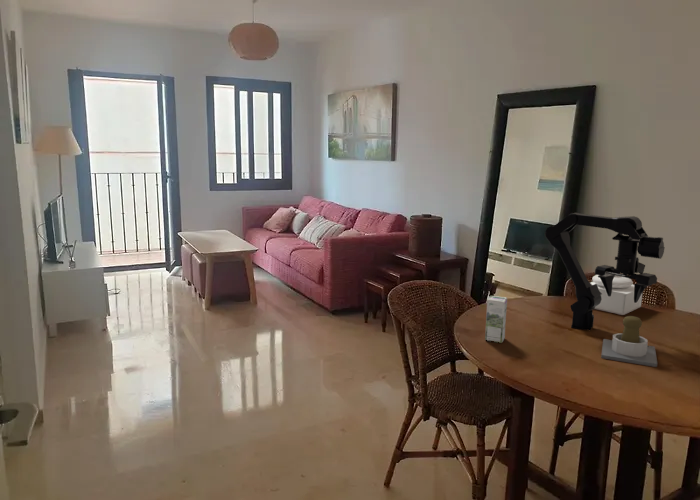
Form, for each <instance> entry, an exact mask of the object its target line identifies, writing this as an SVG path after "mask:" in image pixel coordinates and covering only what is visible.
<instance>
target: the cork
mask: <svg viewBox="0 0 700 500" xmlns="http://www.w3.org/2000/svg"><path fill="white" fill-rule="evenodd" d="M641 319H642V318H640V317H638V316H634V315H627V316H625V317H624V318H623V320H622V324H623V326H624V327H623V331H622V333H623V334H622V337H621V341H625V342H630V343H640V338H639V336H640V328H642V324H643V321H642V320H641Z"/></svg>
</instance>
